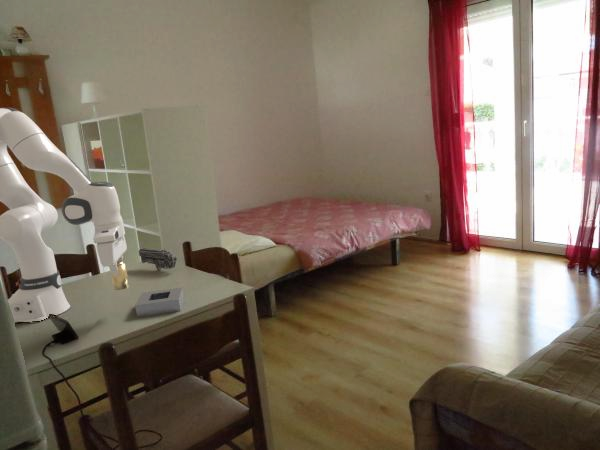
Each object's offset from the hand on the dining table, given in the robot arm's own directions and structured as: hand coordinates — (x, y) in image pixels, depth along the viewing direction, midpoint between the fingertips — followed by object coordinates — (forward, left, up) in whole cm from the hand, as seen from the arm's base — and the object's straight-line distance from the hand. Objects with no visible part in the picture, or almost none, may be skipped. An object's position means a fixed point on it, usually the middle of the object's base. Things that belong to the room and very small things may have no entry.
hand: (118, 271), depth 157 cm
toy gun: (+4, +50, -16) cm, 52 cm away
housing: (+12, 0, -15) cm, 19 cm away
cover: (0, 0, -6) cm, 6 cm away
